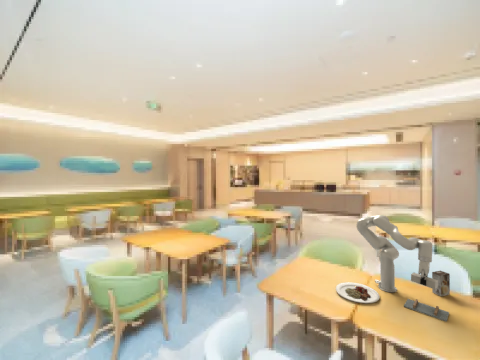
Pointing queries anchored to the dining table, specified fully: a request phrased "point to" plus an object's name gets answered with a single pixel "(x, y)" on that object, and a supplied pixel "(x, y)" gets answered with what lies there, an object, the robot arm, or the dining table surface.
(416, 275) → the light grey block
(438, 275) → the coffee box
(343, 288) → the plated food
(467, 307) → the dining table surface
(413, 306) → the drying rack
